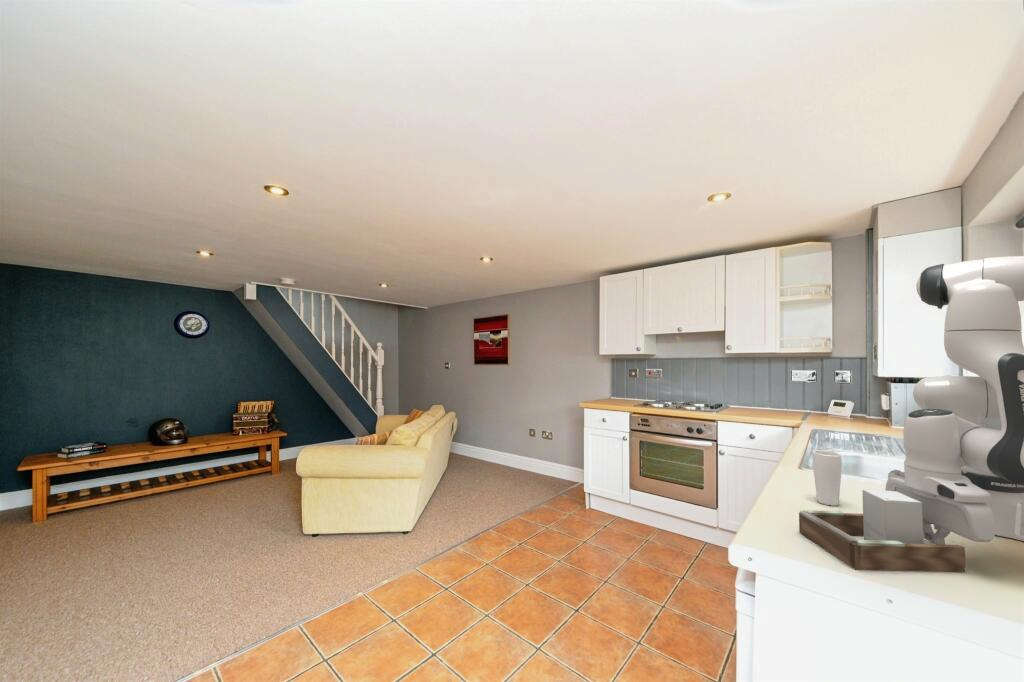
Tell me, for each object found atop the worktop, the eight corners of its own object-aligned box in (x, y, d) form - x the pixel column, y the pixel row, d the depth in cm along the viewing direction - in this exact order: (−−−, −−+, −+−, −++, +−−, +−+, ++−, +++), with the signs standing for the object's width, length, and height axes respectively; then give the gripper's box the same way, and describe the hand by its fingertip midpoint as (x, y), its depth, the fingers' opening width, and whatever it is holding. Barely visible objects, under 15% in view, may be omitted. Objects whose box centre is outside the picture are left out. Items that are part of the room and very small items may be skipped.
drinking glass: (844, 509, 110) (843, 457, 111) (815, 504, 114) (814, 453, 114) (840, 501, 116) (839, 452, 117) (812, 497, 120) (811, 449, 120)
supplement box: (925, 561, 83) (924, 502, 83) (885, 557, 85) (884, 499, 85) (898, 544, 90) (897, 490, 91) (862, 541, 92) (861, 488, 92)
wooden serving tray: (889, 534, 95) (889, 511, 96) (966, 572, 79) (965, 544, 79) (797, 532, 96) (797, 509, 96) (854, 569, 80) (853, 542, 80)
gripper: (876, 467, 98) (877, 521, 97) (968, 497, 77) (970, 566, 77) (901, 467, 98) (903, 522, 97) (1001, 497, 77) (1003, 567, 77)
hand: (933, 542), depth 87 cm, fingers closed
